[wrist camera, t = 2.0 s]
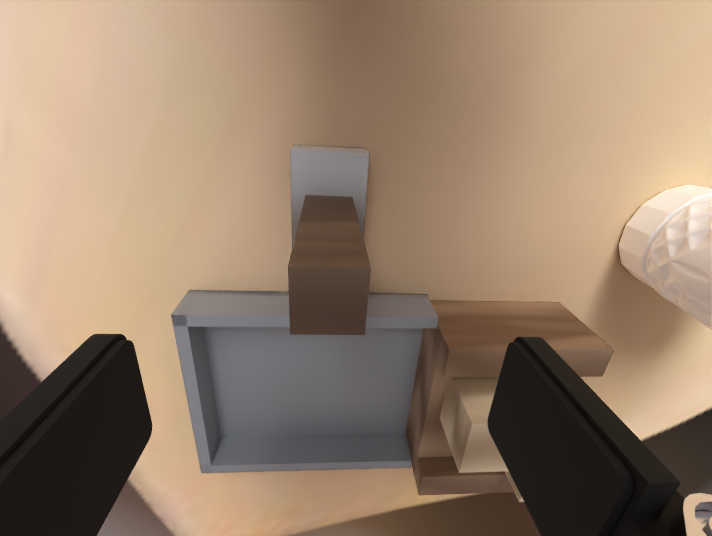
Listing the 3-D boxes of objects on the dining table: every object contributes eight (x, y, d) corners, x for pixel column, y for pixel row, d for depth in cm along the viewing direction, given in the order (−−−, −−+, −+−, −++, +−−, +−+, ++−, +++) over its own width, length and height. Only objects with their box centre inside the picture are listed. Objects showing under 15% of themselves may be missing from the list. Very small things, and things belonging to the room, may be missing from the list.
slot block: (425, 300, 25) (449, 349, 20) (559, 302, 26) (614, 350, 21) (404, 431, 30) (418, 495, 26) (515, 429, 31) (550, 490, 26)
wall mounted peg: (294, 144, 20) (258, 190, 10) (365, 148, 20) (403, 196, 10) (296, 257, 23) (269, 386, 13) (357, 259, 23) (380, 385, 13)
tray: (189, 290, 23) (171, 314, 21) (426, 294, 25) (438, 317, 22) (213, 438, 29) (201, 473, 27) (403, 435, 31) (410, 467, 28)
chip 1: (449, 372, 23) (472, 423, 19) (509, 372, 23) (542, 422, 19) (439, 417, 24) (459, 472, 21) (495, 417, 25) (523, 470, 21)
